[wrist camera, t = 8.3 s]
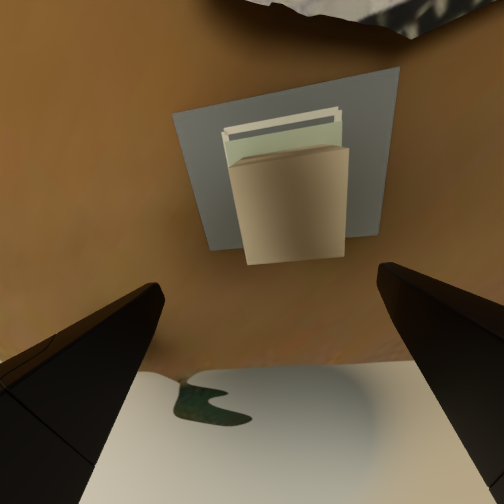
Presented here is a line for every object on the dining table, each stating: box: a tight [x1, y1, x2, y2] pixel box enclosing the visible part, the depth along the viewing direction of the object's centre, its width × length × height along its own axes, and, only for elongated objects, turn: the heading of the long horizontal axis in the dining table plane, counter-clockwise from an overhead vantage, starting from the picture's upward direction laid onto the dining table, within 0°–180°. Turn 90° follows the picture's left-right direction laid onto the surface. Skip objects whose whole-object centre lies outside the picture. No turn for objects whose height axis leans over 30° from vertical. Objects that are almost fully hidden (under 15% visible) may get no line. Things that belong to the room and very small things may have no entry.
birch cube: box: [228, 144, 349, 265], centre depth 12 cm, size 5×5×5 cm
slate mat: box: [172, 66, 400, 251], centre depth 18 cm, size 16×12×1 cm
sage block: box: [225, 121, 342, 167], centre depth 16 cm, size 7×7×4 cm
